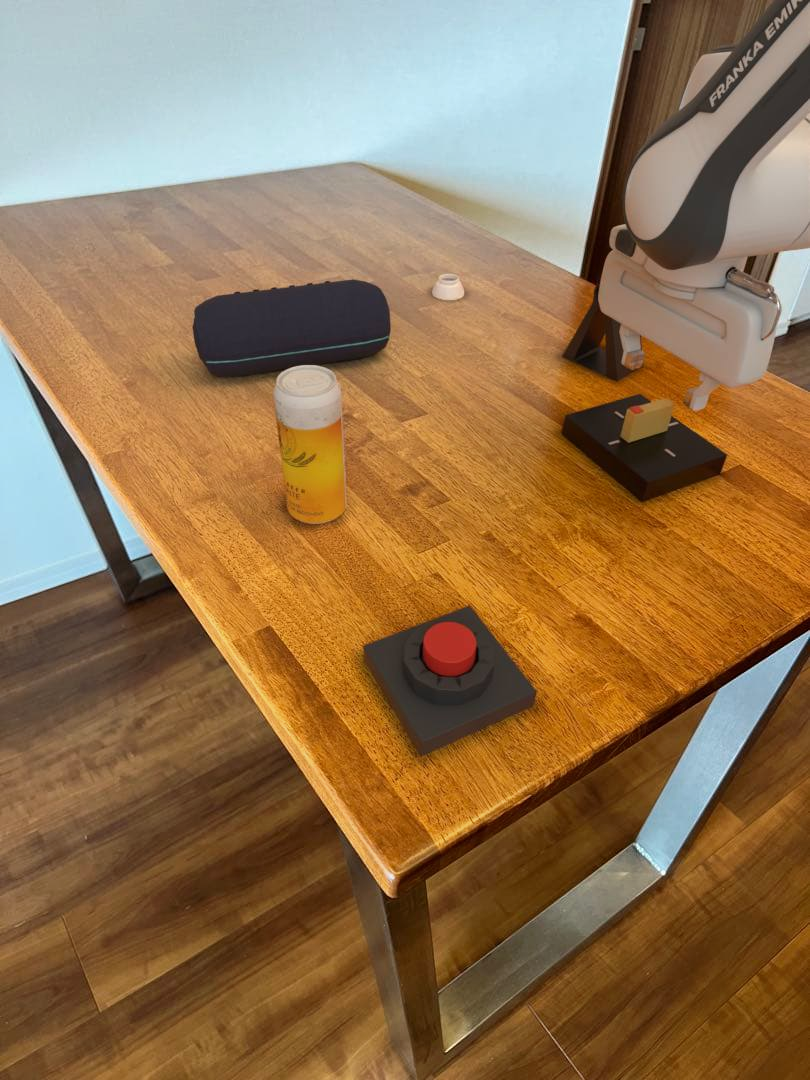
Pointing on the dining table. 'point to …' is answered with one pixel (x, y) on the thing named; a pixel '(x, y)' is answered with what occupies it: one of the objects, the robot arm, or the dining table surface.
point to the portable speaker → (291, 327)
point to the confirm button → (449, 649)
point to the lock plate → (642, 450)
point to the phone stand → (598, 343)
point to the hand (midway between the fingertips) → (661, 385)
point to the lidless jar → (448, 287)
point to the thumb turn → (647, 420)
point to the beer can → (311, 442)
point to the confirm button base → (447, 684)
